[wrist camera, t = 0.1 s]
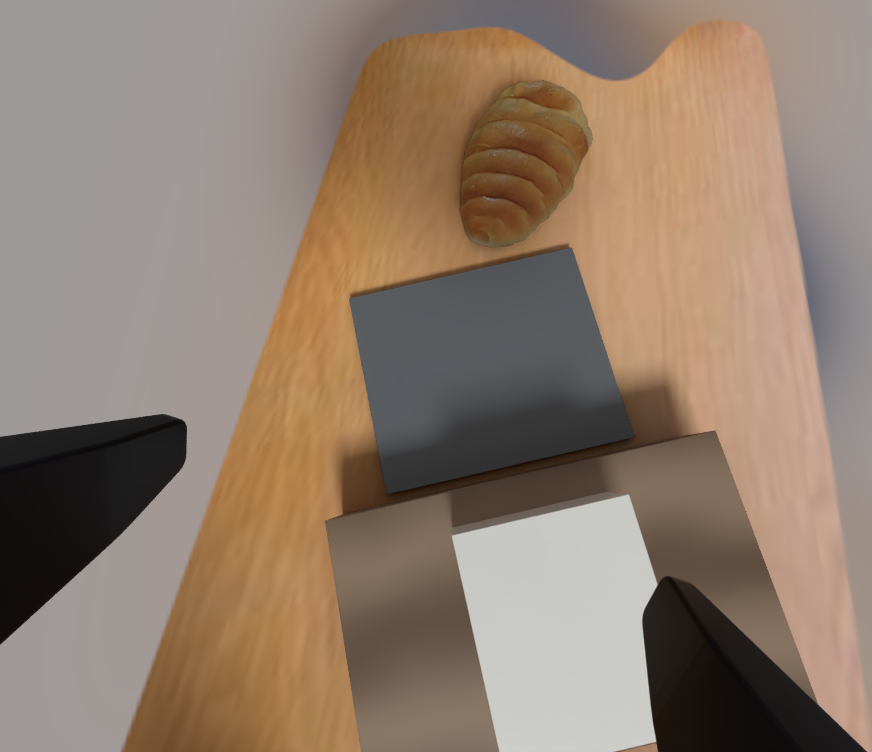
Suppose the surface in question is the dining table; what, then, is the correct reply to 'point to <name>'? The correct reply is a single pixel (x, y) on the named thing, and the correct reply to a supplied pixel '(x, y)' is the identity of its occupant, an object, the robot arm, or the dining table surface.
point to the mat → (485, 371)
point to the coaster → (561, 624)
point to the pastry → (521, 162)
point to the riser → (446, 604)
